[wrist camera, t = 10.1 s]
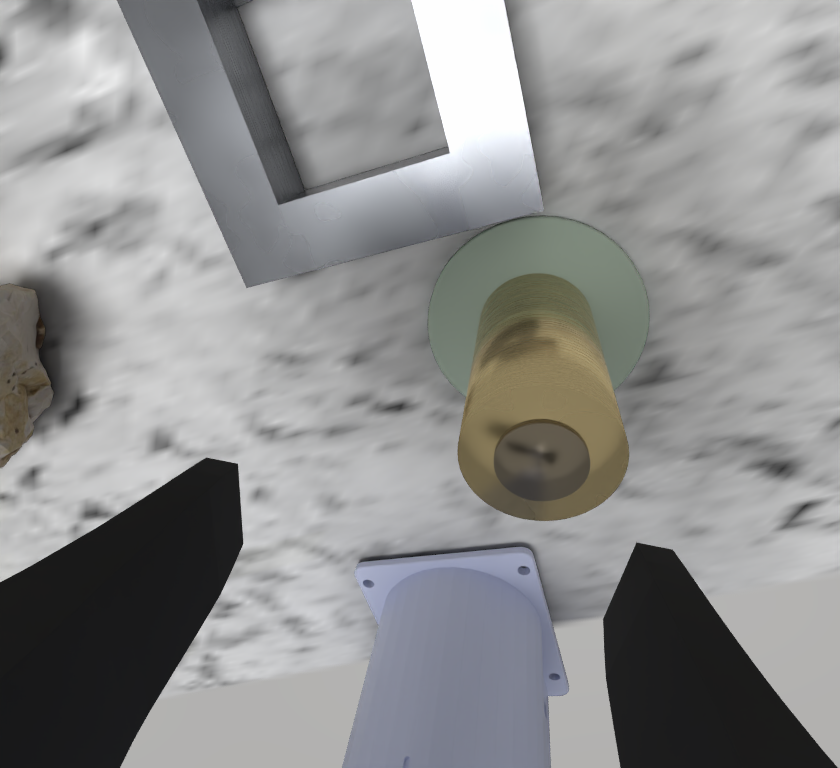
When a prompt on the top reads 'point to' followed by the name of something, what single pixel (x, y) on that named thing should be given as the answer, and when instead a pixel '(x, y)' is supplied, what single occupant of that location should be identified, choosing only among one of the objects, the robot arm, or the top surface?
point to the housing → (357, 195)
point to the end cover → (540, 405)
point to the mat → (549, 254)
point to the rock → (20, 368)
